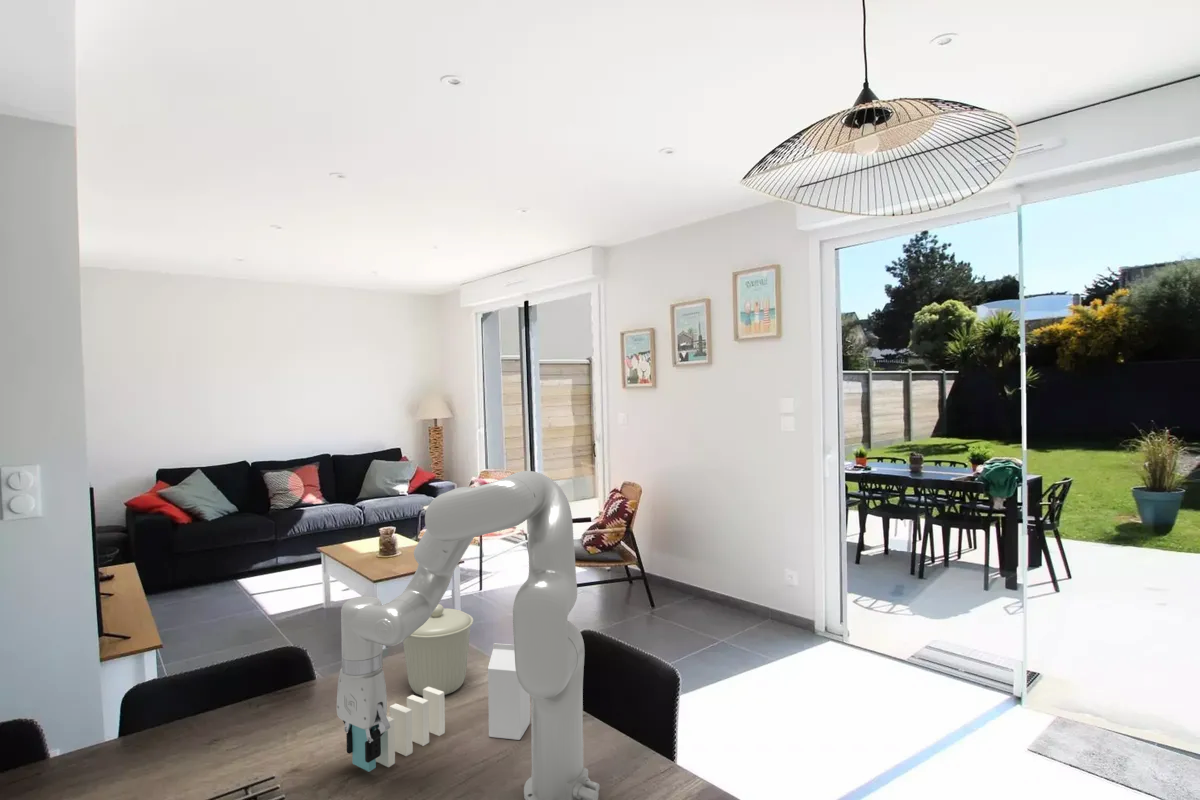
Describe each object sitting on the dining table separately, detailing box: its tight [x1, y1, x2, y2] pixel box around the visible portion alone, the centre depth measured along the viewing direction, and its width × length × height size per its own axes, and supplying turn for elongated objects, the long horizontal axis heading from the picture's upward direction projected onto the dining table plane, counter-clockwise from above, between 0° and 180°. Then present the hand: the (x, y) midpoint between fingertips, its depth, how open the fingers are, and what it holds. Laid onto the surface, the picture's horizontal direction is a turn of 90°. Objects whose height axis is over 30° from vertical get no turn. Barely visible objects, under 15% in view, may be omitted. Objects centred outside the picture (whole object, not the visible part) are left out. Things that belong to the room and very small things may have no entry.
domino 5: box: [422, 686, 446, 737], centre depth 142 cm, size 5×2×9 cm, turn 57°
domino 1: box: [351, 725, 377, 772], centre depth 127 cm, size 5×2×9 cm, turn 57°
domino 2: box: [375, 715, 396, 768], centre depth 131 cm, size 5×2×9 cm, turn 57°
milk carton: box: [487, 642, 531, 741], centre depth 142 cm, size 7×7×19 cm
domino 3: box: [389, 702, 414, 757], centre depth 134 cm, size 5×2×9 cm, turn 57°
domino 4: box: [406, 694, 430, 747], centre depth 138 cm, size 5×2×9 cm, turn 57°
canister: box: [402, 603, 474, 697], centre depth 163 cm, size 18×18×21 cm
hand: (363, 753), depth 127 cm, fingers closed on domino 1, 4 cm apart
